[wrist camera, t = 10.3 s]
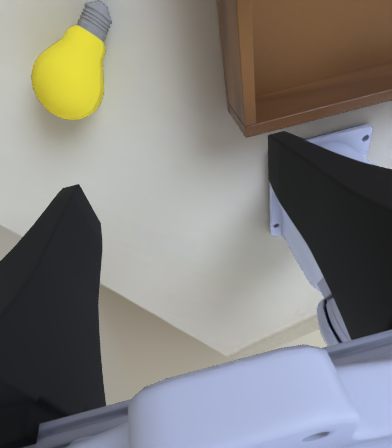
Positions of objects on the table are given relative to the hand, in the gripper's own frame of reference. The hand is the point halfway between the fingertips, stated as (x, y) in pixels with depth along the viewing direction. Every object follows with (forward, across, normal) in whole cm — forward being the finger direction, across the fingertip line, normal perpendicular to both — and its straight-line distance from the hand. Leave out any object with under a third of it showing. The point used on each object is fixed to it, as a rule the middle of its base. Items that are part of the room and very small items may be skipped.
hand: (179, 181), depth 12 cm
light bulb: (+10, +4, -3) cm, 11 cm away
